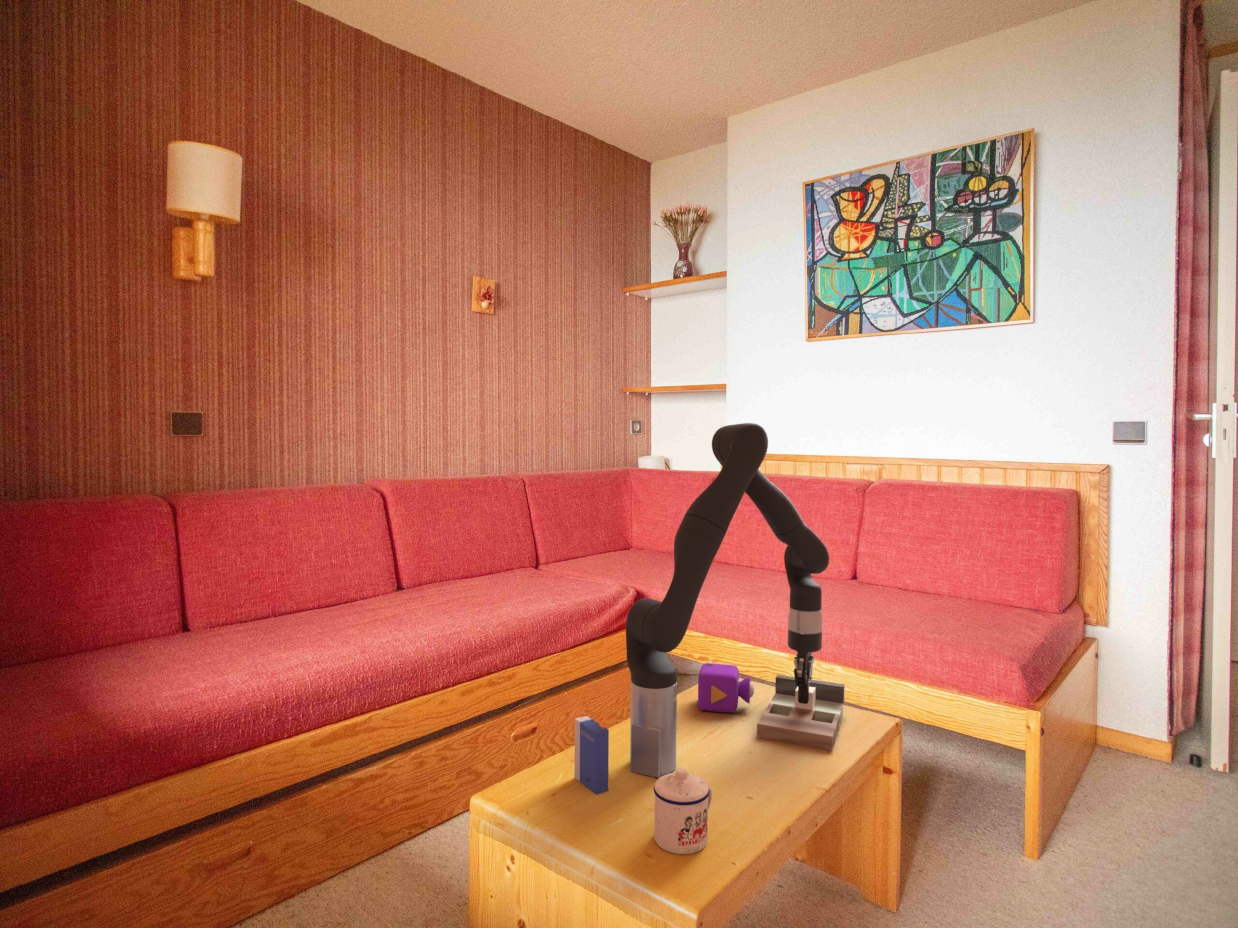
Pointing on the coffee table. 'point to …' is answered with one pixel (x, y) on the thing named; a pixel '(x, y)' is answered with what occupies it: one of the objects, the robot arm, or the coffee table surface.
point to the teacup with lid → (681, 812)
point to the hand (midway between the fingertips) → (803, 702)
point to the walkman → (591, 754)
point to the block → (810, 703)
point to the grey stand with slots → (803, 715)
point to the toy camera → (722, 688)
